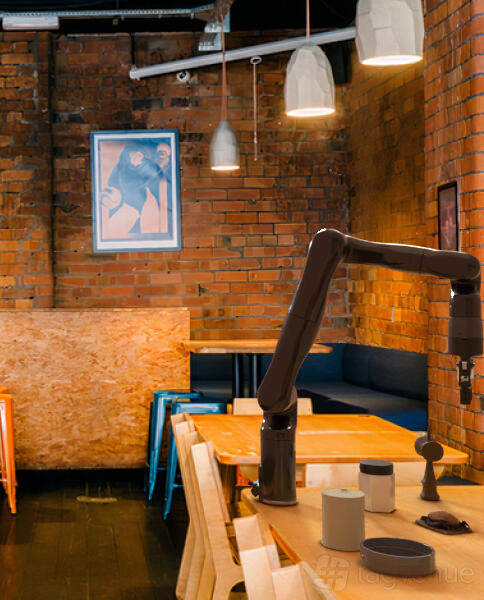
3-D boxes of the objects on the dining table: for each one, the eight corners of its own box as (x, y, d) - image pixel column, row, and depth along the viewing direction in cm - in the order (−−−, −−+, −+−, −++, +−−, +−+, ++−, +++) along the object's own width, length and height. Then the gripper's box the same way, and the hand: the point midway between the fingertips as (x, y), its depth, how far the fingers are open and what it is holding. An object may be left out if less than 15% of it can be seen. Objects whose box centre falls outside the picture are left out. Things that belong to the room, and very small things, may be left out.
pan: (355, 570, 159) (355, 550, 159) (366, 552, 171) (365, 533, 171) (432, 582, 152) (432, 561, 152) (437, 562, 164) (437, 542, 164)
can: (366, 541, 178) (366, 488, 178) (365, 553, 170) (364, 497, 170) (323, 536, 182) (322, 484, 182) (319, 548, 174) (318, 493, 174)
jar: (366, 502, 213) (365, 458, 213) (398, 507, 207) (397, 461, 208) (354, 509, 206) (354, 463, 206) (388, 514, 201) (387, 467, 201)
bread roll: (412, 523, 193) (411, 508, 193) (441, 520, 195) (440, 505, 195) (445, 535, 183) (445, 519, 183) (475, 532, 185) (475, 516, 185)
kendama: (437, 495, 220) (436, 423, 220) (446, 503, 211) (445, 428, 211) (414, 494, 222) (413, 422, 222) (421, 502, 213) (420, 427, 213)
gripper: (449, 334, 200) (450, 398, 200) (446, 336, 188) (446, 405, 188) (484, 334, 196) (484, 400, 196) (482, 336, 184) (483, 406, 184)
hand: (466, 402), depth 192 cm, fingers open, 8 cm apart
